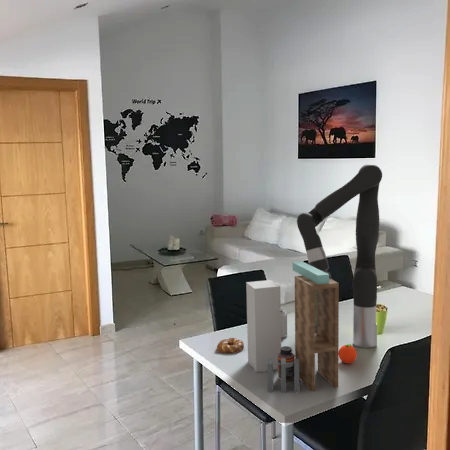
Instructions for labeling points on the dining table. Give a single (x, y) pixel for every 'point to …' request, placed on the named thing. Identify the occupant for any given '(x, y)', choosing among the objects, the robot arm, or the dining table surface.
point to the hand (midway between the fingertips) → (328, 298)
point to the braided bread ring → (230, 346)
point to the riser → (263, 323)
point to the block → (311, 272)
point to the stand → (326, 330)
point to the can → (283, 323)
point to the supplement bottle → (286, 353)
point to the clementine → (347, 353)
